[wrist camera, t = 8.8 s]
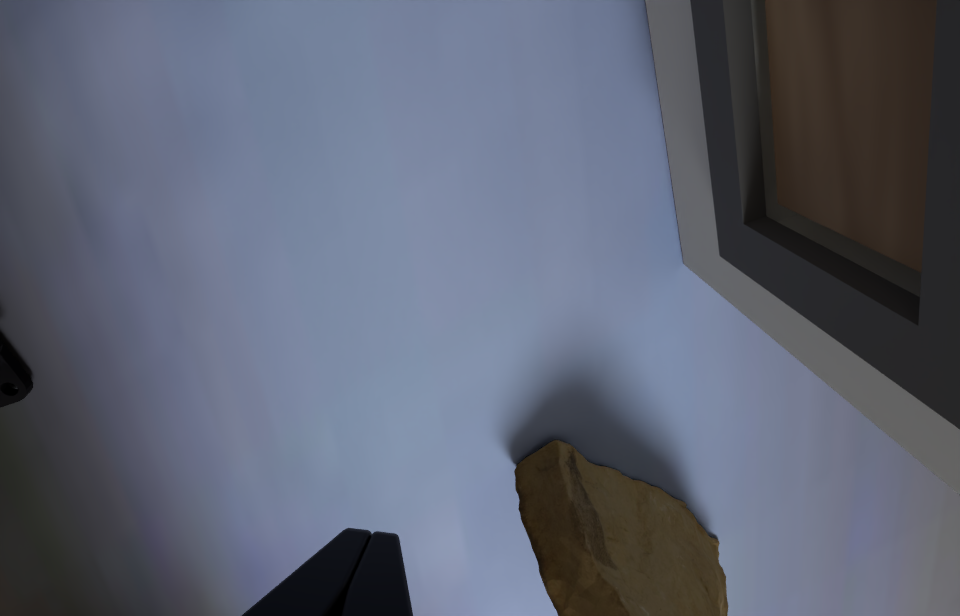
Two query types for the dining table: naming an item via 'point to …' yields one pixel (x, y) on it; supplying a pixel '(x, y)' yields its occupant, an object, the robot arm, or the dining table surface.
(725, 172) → the off-white upright box
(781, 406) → the dining table surface
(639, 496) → the rock
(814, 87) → the peg
